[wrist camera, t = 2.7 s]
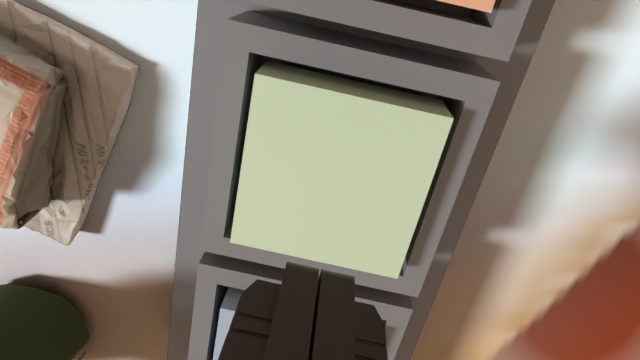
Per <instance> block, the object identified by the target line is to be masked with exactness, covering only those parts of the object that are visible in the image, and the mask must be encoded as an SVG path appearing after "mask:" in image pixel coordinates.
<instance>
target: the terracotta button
mask: <svg viewBox="0 0 640 360" xmlns="http://www.w3.org/2000/svg"><path fill="white" fill-rule="evenodd" d="M437 1H441V2H446V3H450V4H454V5H458V6H463V7H467V8H471V9H476V10H480V11H484V12H489V13H491V12H492V9H493V6H494V3H495V0H437Z"/></svg>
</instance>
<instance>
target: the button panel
mask: <svg viewBox="0 0 640 360" xmlns="http://www.w3.org/2000/svg"><path fill="white" fill-rule="evenodd" d="M554 2H555V0H495V3H494V6H493V9H492V12H491V13H489V12H484V11H480V10H476V9H471V8H467V7H463V6H458V5H454V4H450V3H446V2H441V1H437V0H198V10H197V22H196V33H195V44H194V56H193V67H192V79H191V90H190V102H189V113H188V125H187V136H186V147H185V159H184V170H183V182H182V193H181V205H180V216H179V227H178V239H177V250H176V262H175V273H174V285H173V296H172V308H171V319H170V330H169V342H168V353H167V360H213V354H214V347H215V340H216V334H217V327H218V320H219V313H220V308H221V305H222V303H223V300H224V298H225V295H226V293H227V290H228V288H229V287H232V288H237V289H242V290H246V289H247V288H248V287H249V286H250V285H251V284H252V283H253V282H255V281H256V280H257V279H259V280H263V281H268V282H272V283H277V284H281V283H282V279H283V275H284V271H285V267H286V263H287V261H288V262H292V263H296V264H301V265H305V266H310V267H314V268H319V275H320V272H321V269H324V270H328V271H332V272H337V273H341V274H346V275H350V276H354V277H355V301H357V302H362V303H366V304H371V305H374V306H375V308H376V310H377V312H378V313H379V315H380V317H381V319H382V320H383V322H384V324H385V332H386V344H387V345H386V349H387V356H388V360H410V357H411V355H412V352H413V350H414V347H415V345H416V343H417V340H418V338H419V335H420V333H421V330H422V328H423V325H424V323H425V320H426V318H427V315H428V313H429V310H430V308H431V305H432V303H433V301H434V298H435V296H436V293H437V291H438V288H439V286H440V283H441V281H442V278H443V276H444V273H445V271H446V268H447V266H448V263H449V261H450V259H451V256H452V254H453V251H454V249H455V246H456V244H457V241H458V239H459V236H460V234H461V231H462V229H463V226H464V224H465V221H466V219H467V217H468V214H469V212H470V209H471V207H472V204H473V202H474V199H475V197H476V194H477V192H478V189H479V187H480V184H481V182H482V179H483V177H484V175H485V172H486V170H487V167H488V165H489V162H490V160H491V157H492V155H493V152H494V150H495V147H496V145H497V142H498V140H499V138H500V135H501V133H502V130H503V128H504V125H505V123H506V120H507V118H508V115H509V113H510V110H511V108H512V105H513V103H514V100H515V98H516V96H517V93H518V91H519V88H520V86H521V83H522V81H523V78H524V76H525V73H526V71H527V68H528V66H529V63H530V61H531V58H532V56H533V54H534V51H535V49H536V46H537V44H538V41H539V39H540V36H541V34H542V31H543V29H544V26H545V24H546V21H547V19H548V16H549V14H550V12H551V9H552V7H553V4H554ZM266 61H270V62H274V63H279V64H283V65H287V66H292V67H296V68H301V69H305V70H309V71H314V72H318V73H323V74H327V75H331V76H336V77H340V78H345V79H349V80H353V81H358V82H362V83H367V84H371V85H376V86H380V87H384V88H389V89H393V90H398V91H402V92H406V93H411V94H415V95H420V96H424V97H428V98H433V99H437V100H442V101H443V102H444V104H445V105H446V107H447V109H448V110H449V112H450V113H451V115H452V116H453V118H454V120H453V123H452V125H451V128H450V131H449V134H448V137H447V140H446V143H445V145H444V148H443V151H442V154H441V157H440V160H439V162H438V165H437V168H436V171H435V174H434V177H433V179H432V182H431V185H430V188H429V191H428V194H427V197H426V199H425V202H424V205H423V208H422V211H421V214H420V216H419V219H418V222H417V225H416V228H415V231H414V233H413V236H412V239H411V242H410V245H409V248H408V251H407V253H406V256H405V259H404V262H403V265H402V268H401V270H400V273H399V276H398V279H396V278H391V277H386V276H382V275H377V274H373V273H368V272H363V271H359V270H354V269H350V268H345V267H340V266H336V265H331V264H327V263H322V262H317V261H313V260H308V259H304V258H299V257H294V256H290V255H285V254H281V253H276V252H271V251H267V250H262V249H258V248H253V247H248V246H244V245H239V244H235V243H230V239H231V232H232V225H233V218H234V211H235V205H236V198H237V191H238V184H239V178H240V171H241V164H242V157H243V150H244V144H245V137H246V130H247V123H248V116H249V110H250V103H251V96H252V89H253V82H254V76H255V73H256V72H257V71H258V70H259V69H260V68H261V67H262V65H263V64H264V63H265V62H266ZM318 278H319V276H318Z"/></svg>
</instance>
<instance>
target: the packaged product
mask: <svg viewBox="0 0 640 360" xmlns="http://www.w3.org/2000/svg"><path fill="white" fill-rule="evenodd" d="M138 69H139V66H138V65H137V64H135V63H133V62H131V61H129V60H128V59H126V58H124V57H123V56H121V55H119V54H117V53H116V52H114V51H112V50H110V49H109V48H107V47H105V46H103V45H102V44H100V43H98V42H96V41H94V40H92V39H90V38H88V37H86V36H84V35H82V34H81V33H79V32H77V31H75V30H73V29H71V28H69V27H67V26H65V25H63V24H61V23H59V22H58V21H56V20H54V19H52V18H50V17H48V16H46V15H43V14H41V13H39V12H36V11H34V10H32V9H29V8H27V7H25V6H23V5H22V4H20V3H18V2H16V1H14V0H0V227H1V228H15V229H19V228H21V227H23V226H26V227H27V228H29V229H31V230H34V231H37V232H40V233H42V234H44V235H46V236H48V237H50V238H52V239H54V240H56V241H57V242H59V243H62V244H64V245H70V244H71V242H72V241H73V239H74V238H75V236H76V235H77V233H78V232H79V230H80V228H81V226H82V225H83V223H84V221H85V218H86V216H87V213H88V211H89V208H90V205H91V202H92V200H93V197H94V194H95V191H96V189H97V186H98V183H99V179H100V177H101V175H102V172H103V170H104V167H105V165H106V163H107V160H108V158H109V155H110V153H111V150H112V148H113V145H114V143H115V140H116V138H117V135H118V133H119V130H120V128H121V125H122V123H123V121H124V118H125V116H126V113H127V110H128V107H129V104H130V100H131V97H132V93H133V89H134V85H135V80H136V76H137V72H138Z"/></svg>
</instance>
